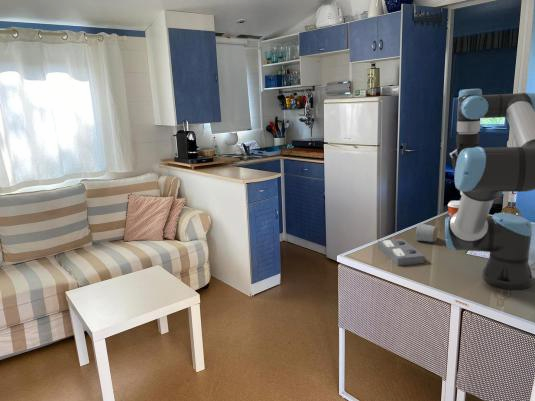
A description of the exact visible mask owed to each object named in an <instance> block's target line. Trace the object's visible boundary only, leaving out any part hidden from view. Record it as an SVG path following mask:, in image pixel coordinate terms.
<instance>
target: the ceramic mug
mask: <svg viewBox="0 0 535 401" xmlns="http://www.w3.org/2000/svg"><path fill="white" fill-rule="evenodd" d="M437 236H438V227H437V226H434V225H431V224H430V225H429V224H424V223H417V226H416V230H415V240H416V241H419V242H427V243H434V242H436V241H437Z"/></svg>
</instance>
